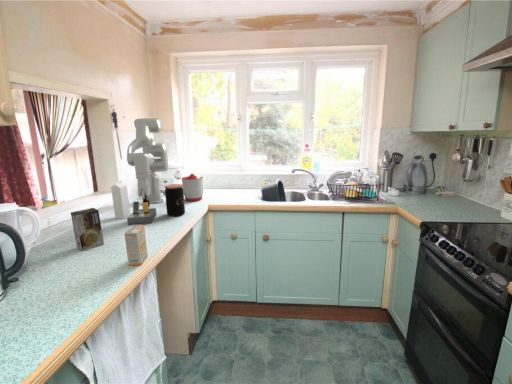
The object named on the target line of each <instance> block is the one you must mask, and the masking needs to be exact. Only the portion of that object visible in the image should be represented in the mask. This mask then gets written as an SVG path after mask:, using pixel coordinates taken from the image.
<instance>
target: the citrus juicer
mask: <svg viewBox="0 0 512 384" xmlns="http://www.w3.org/2000/svg"><path fill="white" fill-rule="evenodd" d="M203 179H204V177H203V176H200V177H199V178H198V177H197V176H196V175H195V174H194V173H190V175H189V176H183V177H181V184H182V185H183V187H182V188H183V193H184V200H185V201H188V202H196V201H200V200H202V199H203V196H204V180H203Z"/></svg>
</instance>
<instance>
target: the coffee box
mask: <svg viewBox="0 0 512 384" xmlns="http://www.w3.org/2000/svg"><path fill="white" fill-rule="evenodd" d="M70 216H71V217H70V218H71V222H72V227H73V233H74V239H75V244H76V248H77V249H78V250H80V251H82V252H83V251H86V250H90V249H93V248H95V247H96V248H97V247H98V246H101V245H104V244H105V242H104V236H103V229H102V224H101V219H100V218H101V217H100V212H99V209H97V208H95V207H90V208H85V209H82V210H76V211H71V212H70Z"/></svg>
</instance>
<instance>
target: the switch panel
mask: <svg viewBox="0 0 512 384" xmlns="http://www.w3.org/2000/svg"><path fill="white" fill-rule="evenodd" d="M149 210H150V212H149V213H144V210H143V208H142V209H140V208H139V213H133V212H132V213H130V216H129V217H127V218H126V221H127V226H140V225H149V224H152V223H153V221H154V220H155V218H156V216H157V215H158V214H157V207H156V208H155V207H153V208H152V207H151V208H149Z"/></svg>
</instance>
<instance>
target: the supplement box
mask: <svg viewBox="0 0 512 384" xmlns="http://www.w3.org/2000/svg"><path fill="white" fill-rule="evenodd" d="M124 241H125V247H126V249H125V250H126V256H127V263H128V267H135V266H136V267H138V266H142V265H143V263H144V262H145V261H146V259H147V258H148V248H147V247H148V246H147V237H146V229H145V224H140V225H131V226H130V227H129V228H128V229H127V230H126V231H124Z"/></svg>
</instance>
